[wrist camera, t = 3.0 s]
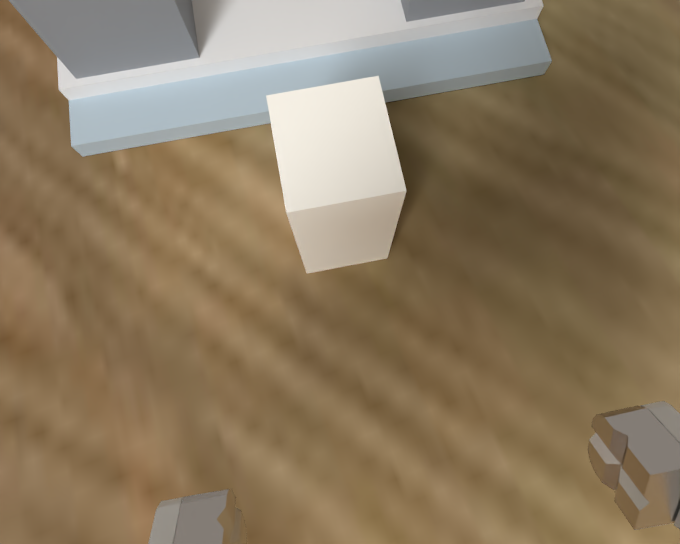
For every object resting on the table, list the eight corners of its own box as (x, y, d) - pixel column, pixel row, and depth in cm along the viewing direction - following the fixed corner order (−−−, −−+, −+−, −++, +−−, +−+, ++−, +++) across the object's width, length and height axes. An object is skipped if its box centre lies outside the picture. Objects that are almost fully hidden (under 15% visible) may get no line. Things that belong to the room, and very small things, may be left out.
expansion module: (291, 186, 28) (264, 90, 19) (368, 172, 28) (377, 70, 19) (306, 273, 26) (286, 212, 18) (387, 258, 26) (406, 190, 18)
